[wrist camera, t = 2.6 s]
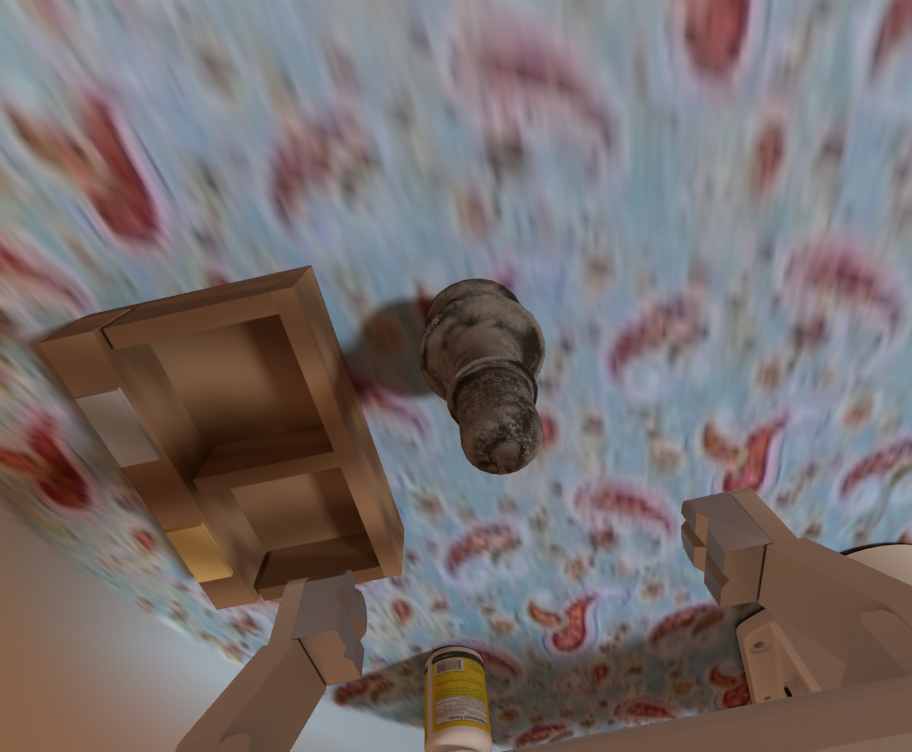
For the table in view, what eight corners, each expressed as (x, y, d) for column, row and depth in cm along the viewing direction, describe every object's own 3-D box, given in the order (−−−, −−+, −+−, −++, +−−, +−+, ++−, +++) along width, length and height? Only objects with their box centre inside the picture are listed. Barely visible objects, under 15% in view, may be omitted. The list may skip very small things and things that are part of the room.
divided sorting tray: (404, 529, 32) (401, 579, 28) (237, 561, 32) (214, 614, 29) (311, 265, 23) (291, 289, 20) (89, 314, 24) (32, 346, 21)
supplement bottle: (460, 686, 40) (468, 813, 33) (413, 669, 39) (409, 798, 31) (495, 655, 38) (511, 783, 31) (447, 636, 37) (451, 765, 30)
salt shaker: (396, 325, 25) (373, 472, 14) (480, 248, 23) (524, 348, 13) (471, 395, 27) (499, 567, 17) (552, 328, 26) (641, 472, 15)
